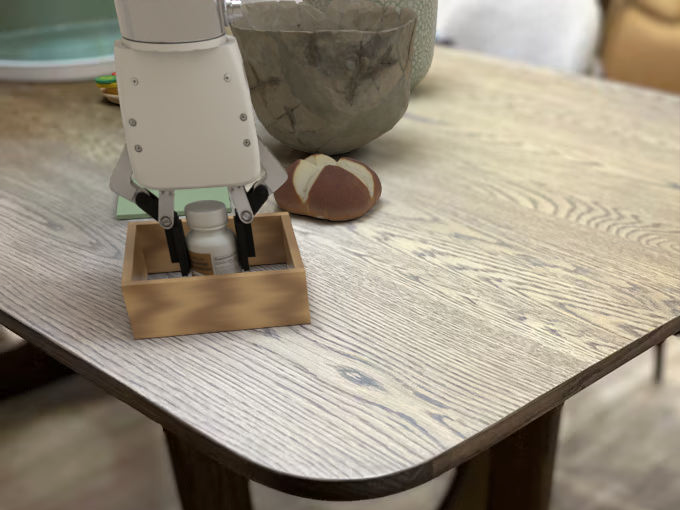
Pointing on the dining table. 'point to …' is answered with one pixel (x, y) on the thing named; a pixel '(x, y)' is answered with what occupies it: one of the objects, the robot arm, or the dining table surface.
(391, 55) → the bowl
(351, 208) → the bread
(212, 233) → the pill bottle
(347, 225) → the dining table surface
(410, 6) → the planter
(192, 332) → the compartment
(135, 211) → the mat
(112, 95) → the toy food set
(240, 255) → the robot arm
